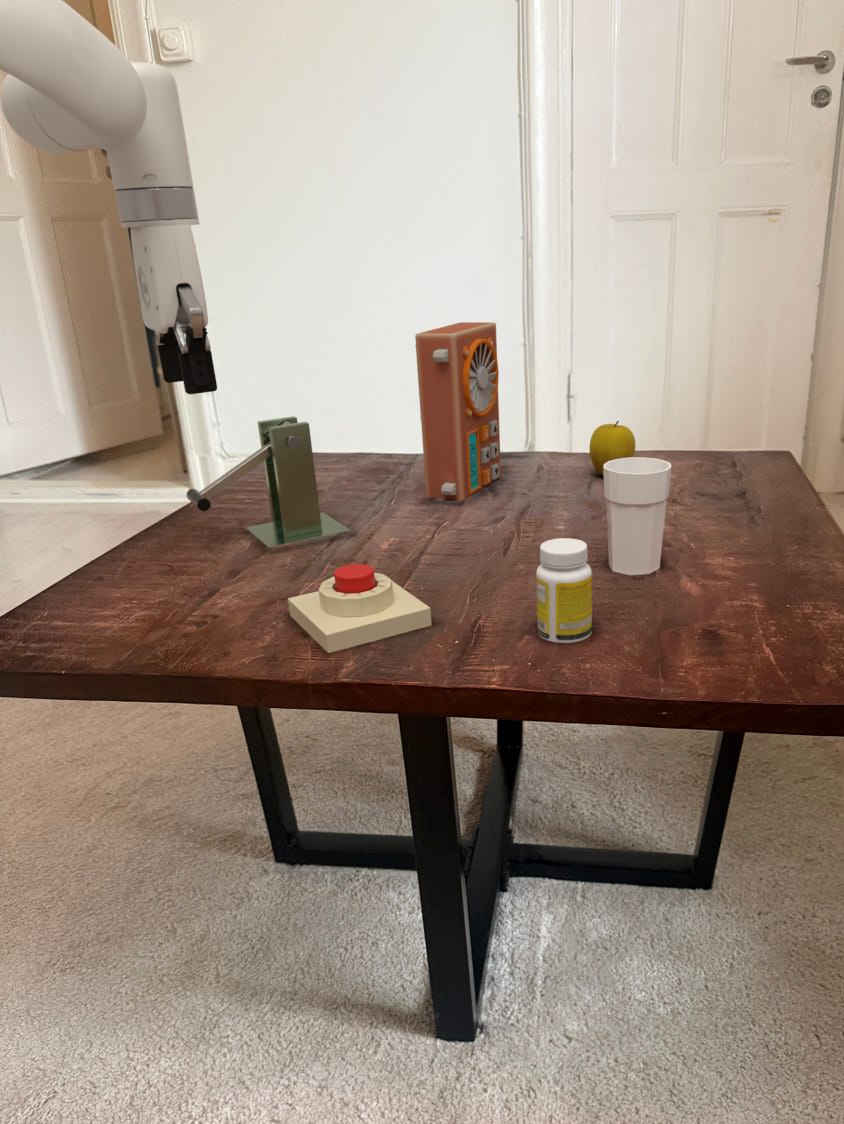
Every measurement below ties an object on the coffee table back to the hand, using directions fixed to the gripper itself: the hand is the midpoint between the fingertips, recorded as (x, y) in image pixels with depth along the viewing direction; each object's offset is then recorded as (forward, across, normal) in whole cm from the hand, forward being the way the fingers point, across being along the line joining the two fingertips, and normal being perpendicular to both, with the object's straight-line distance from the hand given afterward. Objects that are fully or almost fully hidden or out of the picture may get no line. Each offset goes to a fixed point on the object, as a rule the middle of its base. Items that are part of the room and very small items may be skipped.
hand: (190, 386), depth 96 cm
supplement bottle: (+19, +43, +19) cm, 50 cm away
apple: (+19, +3, +55) cm, 58 cm away
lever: (+10, +2, +5) cm, 11 cm away
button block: (+19, +30, +5) cm, 35 cm away
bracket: (+19, +2, +9) cm, 21 cm away
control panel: (+19, -2, +34) cm, 39 cm away
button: (+15, +30, +5) cm, 34 cm away
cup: (+19, +34, +34) cm, 52 cm away
